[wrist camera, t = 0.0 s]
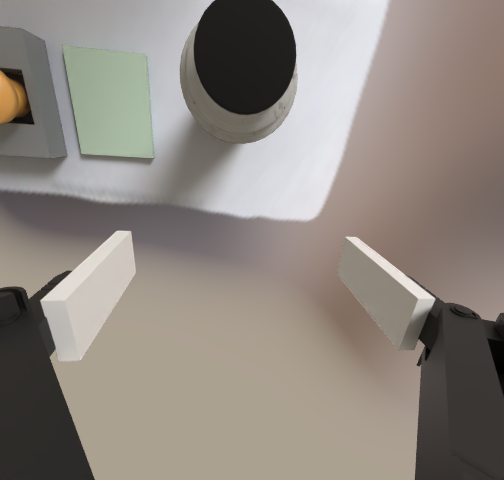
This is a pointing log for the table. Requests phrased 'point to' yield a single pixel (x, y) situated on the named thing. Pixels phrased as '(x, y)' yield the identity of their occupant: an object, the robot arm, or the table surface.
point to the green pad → (110, 101)
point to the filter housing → (31, 98)
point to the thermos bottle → (240, 69)
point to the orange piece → (12, 99)
